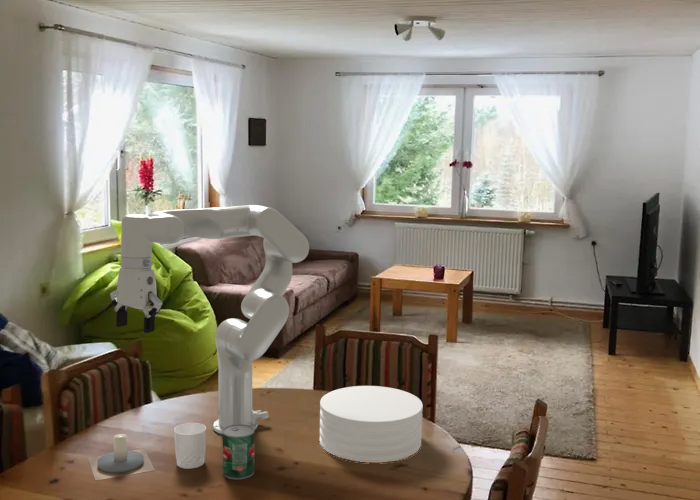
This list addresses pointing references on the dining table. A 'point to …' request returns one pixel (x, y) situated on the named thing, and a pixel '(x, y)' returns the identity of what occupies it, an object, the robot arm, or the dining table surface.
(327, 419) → the plate stack
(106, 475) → the cork mat
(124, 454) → the lid
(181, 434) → the white cup
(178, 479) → the dining table surface
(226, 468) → the canned tomato
